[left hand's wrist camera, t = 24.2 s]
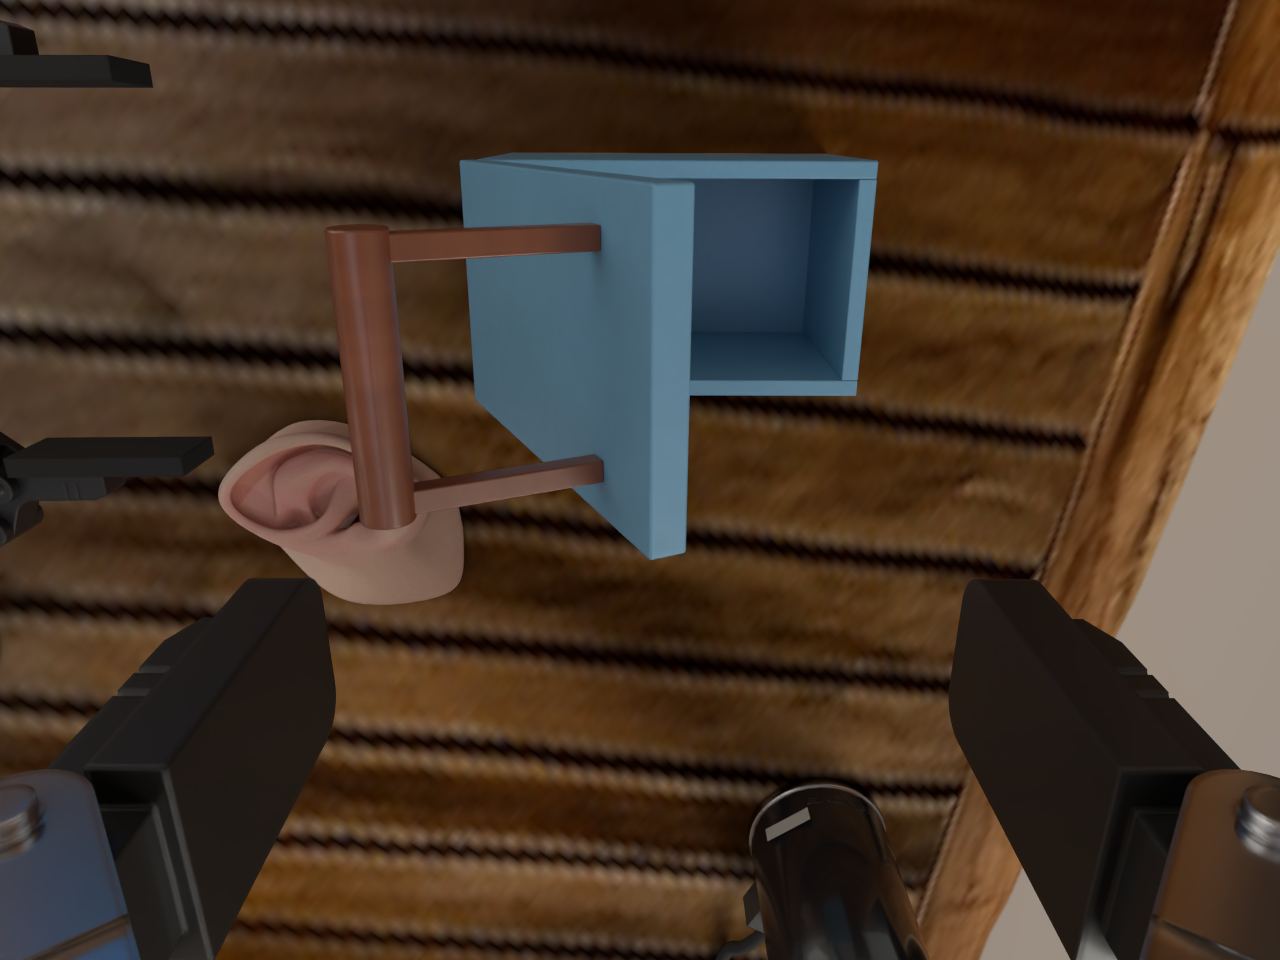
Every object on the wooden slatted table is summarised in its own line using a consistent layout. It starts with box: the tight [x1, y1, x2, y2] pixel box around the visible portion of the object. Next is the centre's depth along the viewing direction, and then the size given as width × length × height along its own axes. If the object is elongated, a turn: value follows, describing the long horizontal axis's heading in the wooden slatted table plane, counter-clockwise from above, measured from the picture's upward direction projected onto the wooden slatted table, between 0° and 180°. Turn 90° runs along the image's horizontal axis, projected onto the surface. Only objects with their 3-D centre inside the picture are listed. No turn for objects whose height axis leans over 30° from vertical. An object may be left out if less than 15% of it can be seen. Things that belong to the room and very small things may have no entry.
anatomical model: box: [218, 420, 464, 605], centre depth 51 cm, size 13×4×12 cm
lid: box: [325, 160, 695, 560], centre depth 28 cm, size 17×10×8 cm
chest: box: [477, 152, 878, 396], centre depth 43 cm, size 16×10×11 cm, turn 90°
